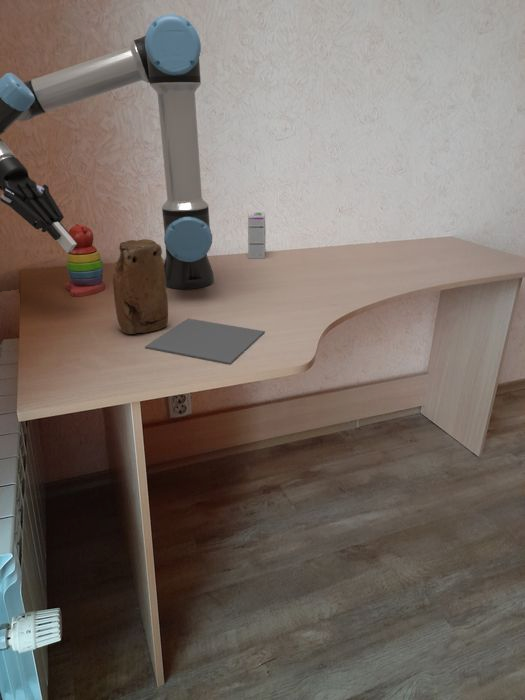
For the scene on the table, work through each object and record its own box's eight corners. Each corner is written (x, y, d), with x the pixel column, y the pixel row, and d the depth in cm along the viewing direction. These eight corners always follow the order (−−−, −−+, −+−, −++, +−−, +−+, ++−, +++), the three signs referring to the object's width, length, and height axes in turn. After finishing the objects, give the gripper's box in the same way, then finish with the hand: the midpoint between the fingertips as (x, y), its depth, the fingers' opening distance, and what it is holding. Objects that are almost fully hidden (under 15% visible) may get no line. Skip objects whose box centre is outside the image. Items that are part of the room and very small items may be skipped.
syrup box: (265, 258, 180) (265, 215, 174) (247, 258, 180) (247, 215, 174) (265, 254, 185) (265, 212, 179) (248, 254, 185) (248, 212, 179)
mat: (187, 319, 128) (187, 318, 127) (264, 332, 121) (264, 331, 120) (145, 348, 112) (145, 346, 112) (230, 364, 106) (230, 362, 105)
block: (156, 318, 128) (149, 236, 120) (172, 328, 123) (166, 242, 115) (114, 329, 122) (104, 242, 113) (129, 339, 116) (120, 249, 108)
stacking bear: (64, 287, 150) (54, 223, 143) (100, 282, 155) (92, 220, 147) (72, 298, 142) (62, 231, 134) (109, 292, 146) (102, 227, 139)
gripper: (18, 175, 127) (83, 252, 128) (-28, 182, 116) (43, 265, 117) (31, 153, 123) (98, 232, 124) (-15, 157, 112) (58, 243, 113)
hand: (71, 248), depth 121 cm, fingers closed
